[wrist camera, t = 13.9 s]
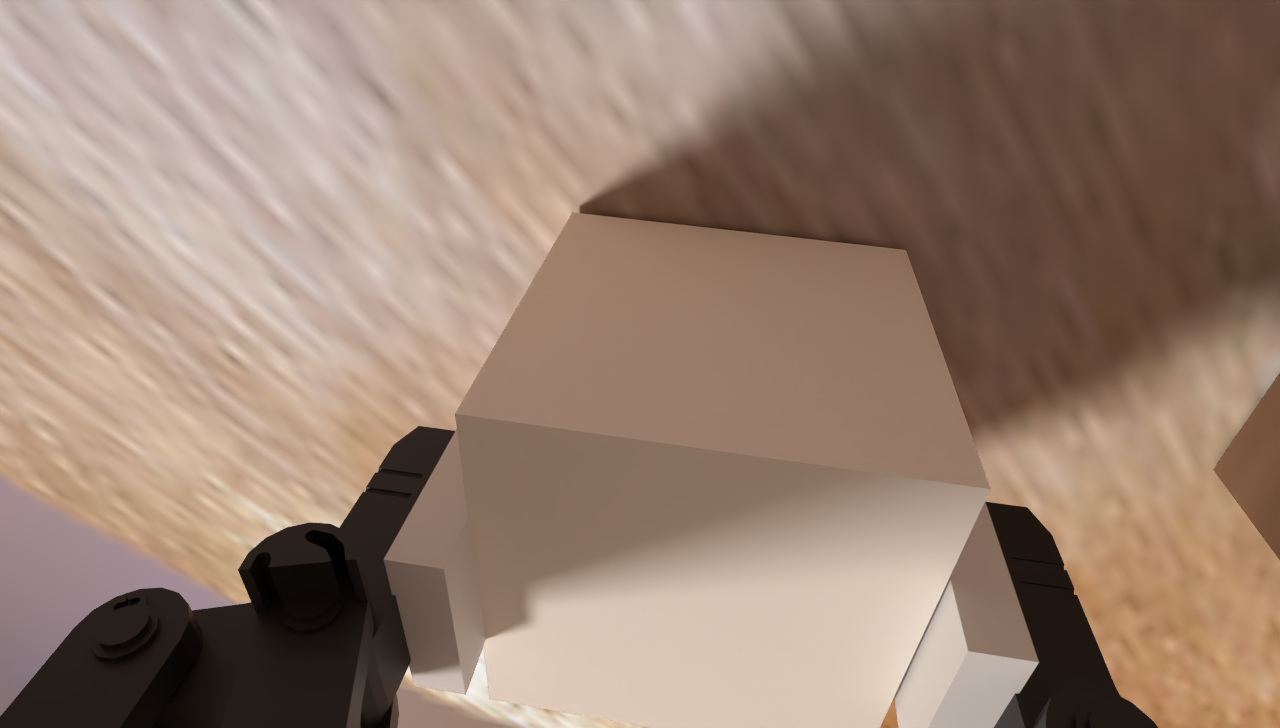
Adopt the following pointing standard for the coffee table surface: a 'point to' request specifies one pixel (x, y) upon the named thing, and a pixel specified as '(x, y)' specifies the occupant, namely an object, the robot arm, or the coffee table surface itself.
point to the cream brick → (714, 479)
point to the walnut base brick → (1257, 467)
